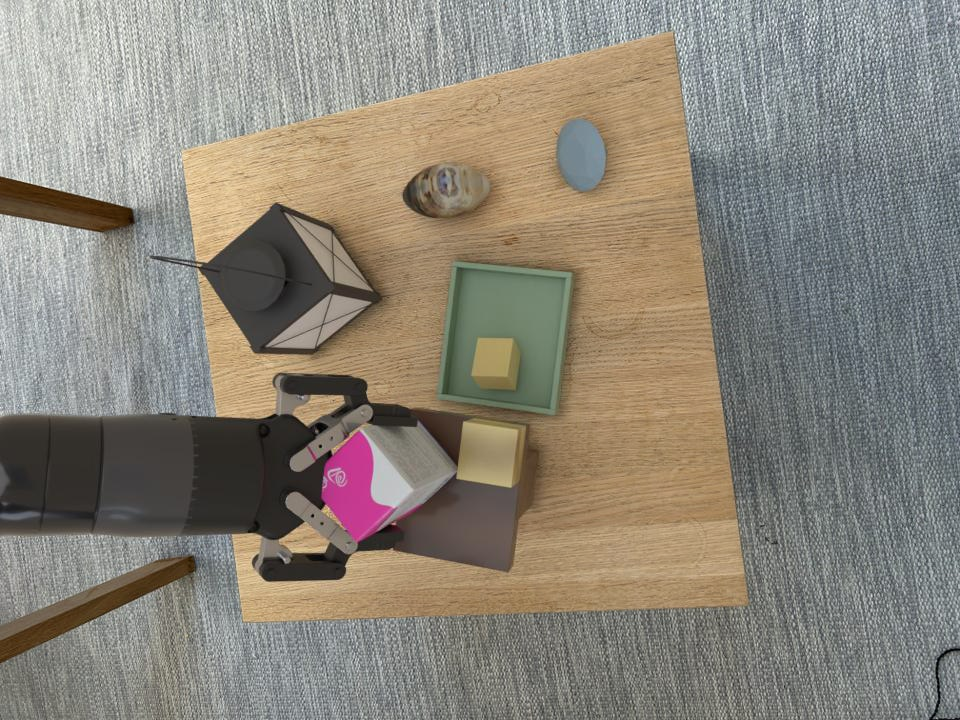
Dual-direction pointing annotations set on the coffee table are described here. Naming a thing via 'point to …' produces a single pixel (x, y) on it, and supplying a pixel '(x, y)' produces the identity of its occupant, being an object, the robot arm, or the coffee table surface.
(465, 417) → the butter stand
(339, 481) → the supplement box
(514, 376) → the butter pat
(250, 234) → the lantern
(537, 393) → the butter dish
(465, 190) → the seashell
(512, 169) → the coffee table surface
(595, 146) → the blue-grey stone
